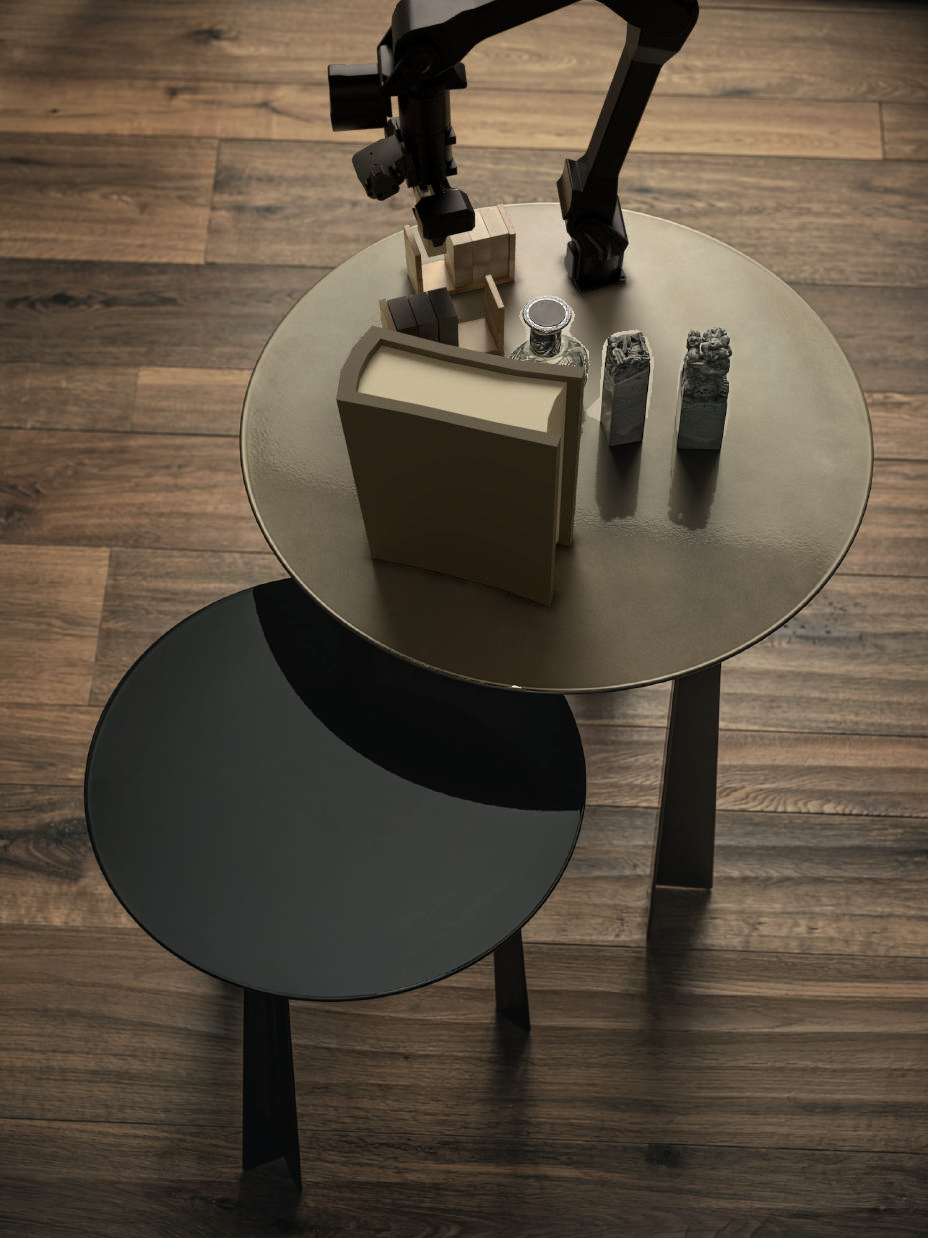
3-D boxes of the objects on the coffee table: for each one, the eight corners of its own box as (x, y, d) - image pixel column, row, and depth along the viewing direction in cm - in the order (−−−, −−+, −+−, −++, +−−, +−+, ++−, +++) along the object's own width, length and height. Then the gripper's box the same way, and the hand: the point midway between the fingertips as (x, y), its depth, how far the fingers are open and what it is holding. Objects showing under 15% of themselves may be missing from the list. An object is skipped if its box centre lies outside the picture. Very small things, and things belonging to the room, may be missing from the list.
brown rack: (501, 251, 145) (502, 203, 138) (514, 280, 142) (516, 233, 135) (407, 272, 143) (403, 225, 136) (418, 302, 141) (414, 256, 134)
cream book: (436, 226, 138) (433, 180, 131) (447, 253, 135) (444, 208, 129) (417, 230, 137) (414, 184, 131) (428, 258, 135) (425, 212, 129)
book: (365, 558, 123) (326, 393, 99) (394, 493, 127) (363, 319, 103) (549, 606, 119) (556, 446, 94) (572, 537, 123) (585, 367, 99)
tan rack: (490, 320, 139) (491, 274, 132) (504, 352, 136) (504, 306, 130) (384, 345, 137) (378, 299, 130) (395, 378, 135) (390, 333, 128)
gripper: (335, 82, 124) (350, 195, 138) (375, 190, 116) (387, 299, 130) (429, 63, 126) (435, 176, 139) (476, 168, 117) (477, 278, 131)
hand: (431, 231), depth 135 cm, fingers closed on cream book, 5 cm apart
